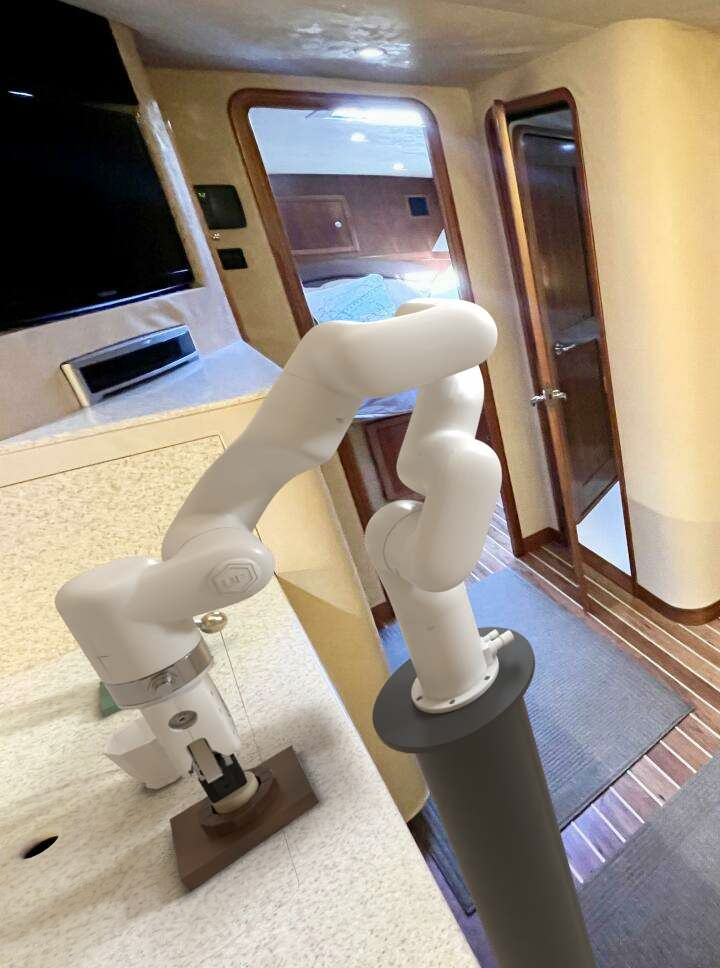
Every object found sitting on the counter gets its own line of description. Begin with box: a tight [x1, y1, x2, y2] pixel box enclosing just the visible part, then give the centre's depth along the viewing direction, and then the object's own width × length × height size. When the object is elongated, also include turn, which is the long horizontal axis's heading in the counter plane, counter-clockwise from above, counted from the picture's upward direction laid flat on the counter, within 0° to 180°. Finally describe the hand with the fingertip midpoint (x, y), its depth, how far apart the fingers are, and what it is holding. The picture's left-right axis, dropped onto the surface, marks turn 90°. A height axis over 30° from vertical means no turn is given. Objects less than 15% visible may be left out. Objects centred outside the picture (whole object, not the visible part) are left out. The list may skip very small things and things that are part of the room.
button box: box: [169, 744, 320, 893], centre depth 64 cm, size 12×10×4 cm
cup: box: [101, 714, 182, 790], centre depth 70 cm, size 7×10×8 cm
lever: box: [193, 611, 229, 635], centre depth 87 cm, size 13×4×4 cm, turn 139°
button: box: [211, 772, 260, 815], centre depth 63 cm, size 4×4×2 cm
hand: (229, 789), depth 62 cm, fingers closed
